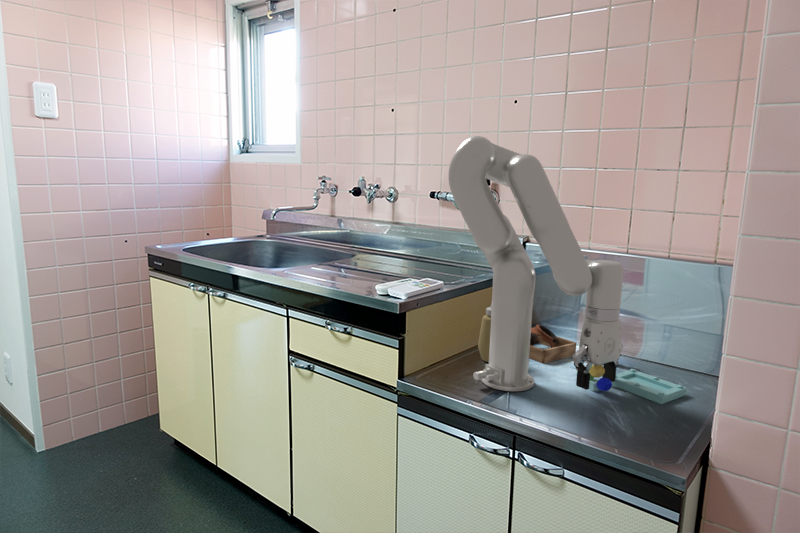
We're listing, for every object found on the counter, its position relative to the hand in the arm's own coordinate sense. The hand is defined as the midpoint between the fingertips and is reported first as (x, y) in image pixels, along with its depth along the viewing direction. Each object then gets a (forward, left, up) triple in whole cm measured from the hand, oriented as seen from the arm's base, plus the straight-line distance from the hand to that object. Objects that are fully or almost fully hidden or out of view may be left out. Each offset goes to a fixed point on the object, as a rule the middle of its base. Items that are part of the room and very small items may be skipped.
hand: (595, 383), depth 127 cm
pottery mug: (+10, +28, -2) cm, 30 cm away
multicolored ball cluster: (0, 0, -2) cm, 2 cm away
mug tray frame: (+10, +27, -2) cm, 29 cm away
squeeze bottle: (-7, +28, -2) cm, 29 cm away
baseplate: (+11, -6, -2) cm, 13 cm away
